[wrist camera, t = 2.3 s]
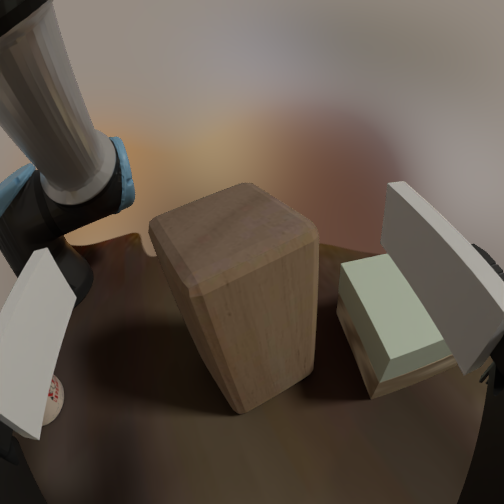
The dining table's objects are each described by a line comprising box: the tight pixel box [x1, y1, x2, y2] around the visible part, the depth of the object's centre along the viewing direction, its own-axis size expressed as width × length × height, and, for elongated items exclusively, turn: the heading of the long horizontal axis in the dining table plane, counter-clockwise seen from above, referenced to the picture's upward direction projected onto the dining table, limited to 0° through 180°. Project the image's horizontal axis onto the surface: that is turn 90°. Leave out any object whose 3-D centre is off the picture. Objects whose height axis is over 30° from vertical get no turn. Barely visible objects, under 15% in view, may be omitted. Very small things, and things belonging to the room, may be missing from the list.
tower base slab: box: [336, 294, 458, 399], centre depth 32 cm, size 13×13×4 cm
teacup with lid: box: [42, 374, 64, 426], centre depth 28 cm, size 12×9×12 cm
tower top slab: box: [338, 253, 452, 383], centre depth 30 cm, size 13×13×4 cm
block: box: [148, 183, 319, 414], centre depth 28 cm, size 10×10×20 cm
